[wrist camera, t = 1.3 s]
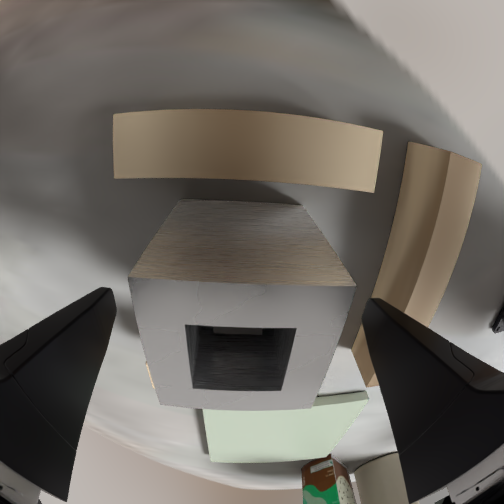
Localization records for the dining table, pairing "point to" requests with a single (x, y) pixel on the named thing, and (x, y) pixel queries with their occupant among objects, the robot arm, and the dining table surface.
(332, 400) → the board
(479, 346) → the dining table surface
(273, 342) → the steel collar
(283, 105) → the dining table surface
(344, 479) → the food container
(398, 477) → the travel mug
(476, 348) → the dining table surface
